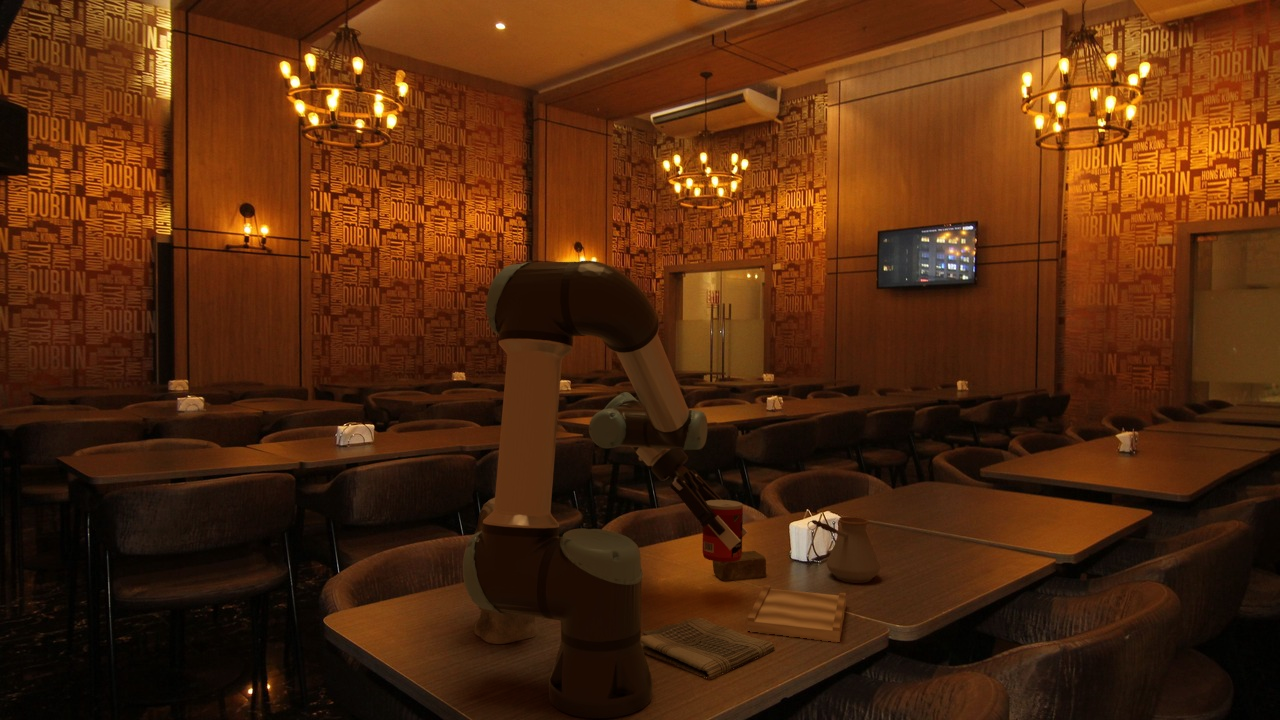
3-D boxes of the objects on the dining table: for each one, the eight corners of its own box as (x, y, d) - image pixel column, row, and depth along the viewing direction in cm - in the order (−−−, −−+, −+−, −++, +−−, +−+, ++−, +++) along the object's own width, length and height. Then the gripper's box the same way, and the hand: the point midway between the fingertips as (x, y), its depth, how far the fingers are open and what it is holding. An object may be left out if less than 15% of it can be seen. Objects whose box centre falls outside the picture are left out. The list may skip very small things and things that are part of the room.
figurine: (511, 615, 148) (511, 483, 147) (547, 638, 136) (548, 495, 136) (462, 626, 142) (462, 489, 142) (496, 651, 130) (497, 501, 130)
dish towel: (778, 653, 132) (778, 634, 132) (708, 685, 119) (709, 664, 119) (695, 624, 145) (695, 607, 145) (625, 650, 133) (625, 631, 133)
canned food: (740, 563, 153) (741, 507, 153) (700, 560, 155) (700, 505, 155) (743, 554, 161) (744, 500, 161) (704, 551, 162) (705, 498, 162)
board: (839, 642, 135) (839, 627, 135) (747, 631, 140) (747, 617, 140) (845, 606, 154) (845, 593, 154) (764, 597, 159) (764, 585, 159)
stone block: (710, 575, 175) (711, 553, 175) (756, 571, 179) (757, 549, 179) (722, 583, 169) (722, 560, 169) (769, 578, 173) (769, 555, 173)
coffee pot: (845, 567, 181) (846, 503, 181) (890, 578, 173) (891, 511, 172) (788, 585, 167) (788, 515, 167) (833, 599, 159) (834, 525, 158)
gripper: (664, 462, 172) (735, 542, 167) (635, 474, 153) (715, 565, 148) (687, 439, 171) (760, 519, 166) (661, 448, 151) (743, 539, 146)
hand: (739, 540), depth 157 cm, fingers closed on canned food, 8 cm apart
